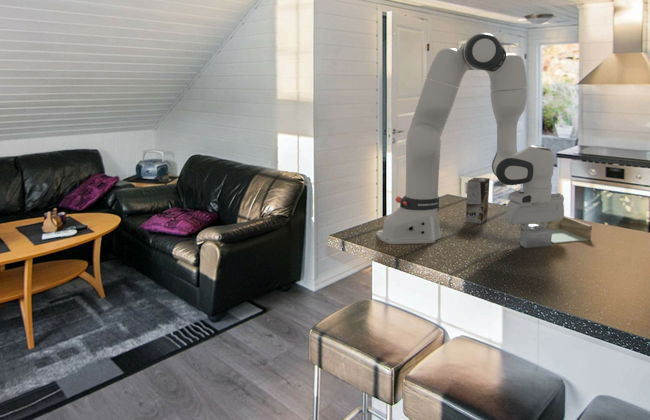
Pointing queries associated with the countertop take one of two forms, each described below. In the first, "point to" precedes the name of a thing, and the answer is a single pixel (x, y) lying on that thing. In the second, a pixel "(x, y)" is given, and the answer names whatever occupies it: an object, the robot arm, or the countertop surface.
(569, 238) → the mat
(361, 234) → the countertop surface
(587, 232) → the walls
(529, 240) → the bracket
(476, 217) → the coffee box
